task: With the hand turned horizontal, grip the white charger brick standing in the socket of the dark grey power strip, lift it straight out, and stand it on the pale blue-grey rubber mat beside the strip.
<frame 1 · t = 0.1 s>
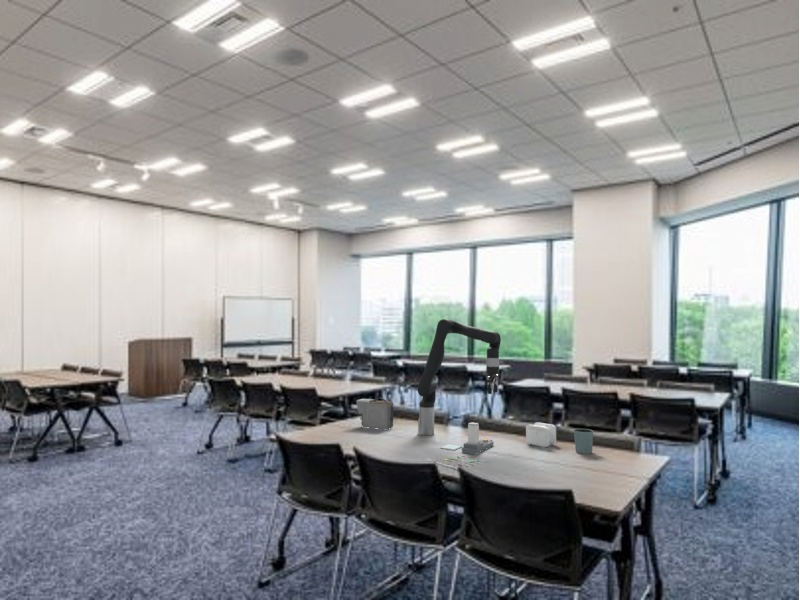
hand: (492, 393, 320), 29 cm above the table, tool pointing down, fingers open, 8 cm apart
mat: (450, 447, 307), on the table
cable organizer: (541, 445, 315), on the table
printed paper: (464, 462, 279), on the table
drinking glass: (583, 452, 298), on the table
grey boxy piece: (374, 428, 363), on the table
charger: (473, 446, 299), point 2 cm above the table, touching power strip
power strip: (478, 449, 304), on the table
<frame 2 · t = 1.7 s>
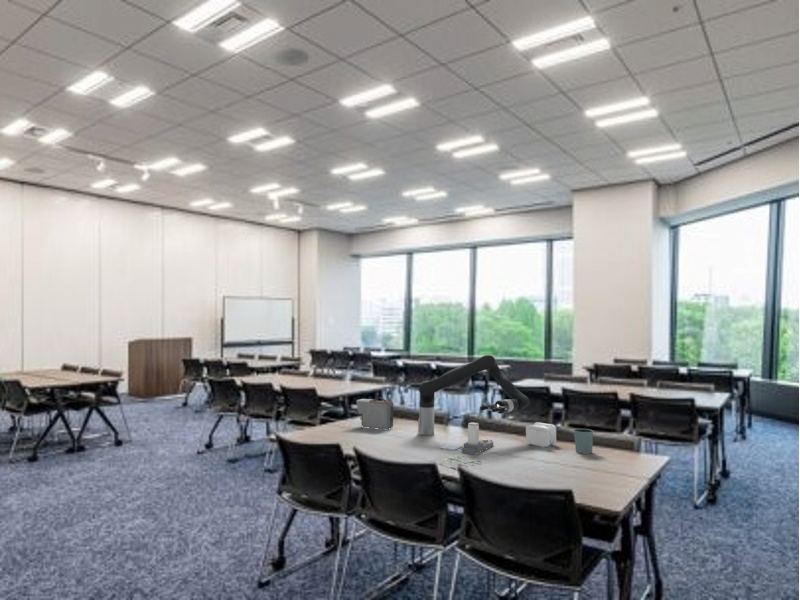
hand: (486, 409, 307), 22 cm above the table, tool horizontal, fingers open, 8 cm apart
nothing on the table moved.
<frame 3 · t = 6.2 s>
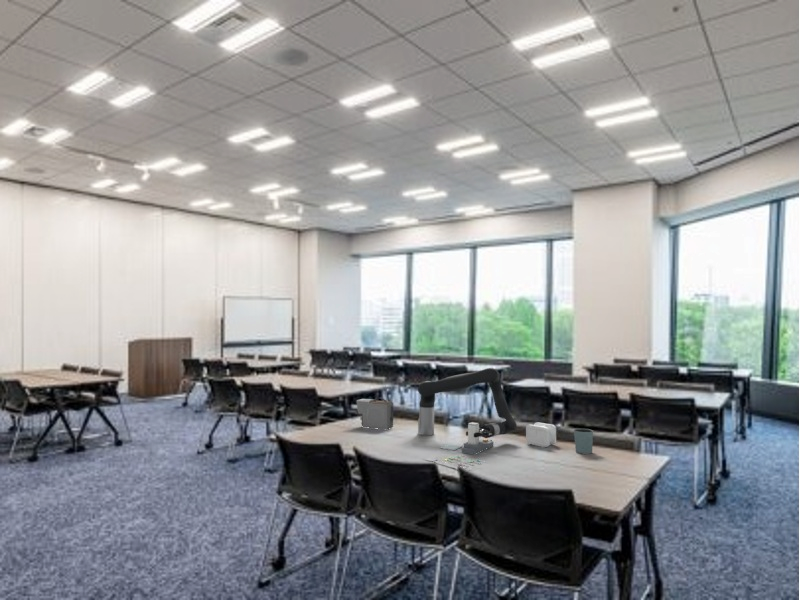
hand: (470, 434, 298), 10 cm above the table, tool horizontal, fingers closed on charger, 5 cm apart
charger: (473, 446, 299), point 3 cm above the table, touching gripper, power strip
everything else where it was.
when the fingers open (9 cm above the table, at t = 10.5 s): charger drops 1 cm, resting on mat.
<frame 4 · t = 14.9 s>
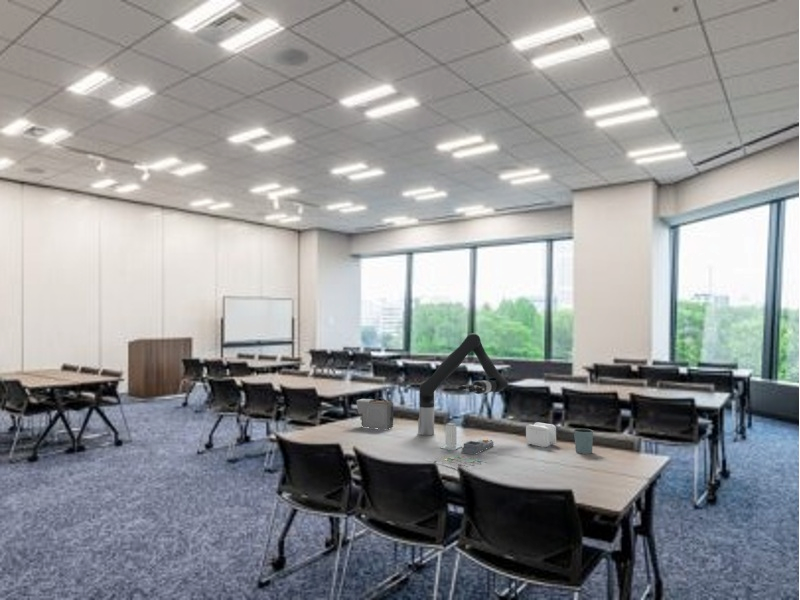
hand: (464, 389, 315), 32 cm above the table, tool horizontal, fingers open, 8 cm apart
charger: (451, 446, 307), point 1 cm above the table, touching mat
everything else where it was.
at the end: charger inside the target area on the mat (0.2 cm from its centre), point 0.6 cm above the mat's base; charger tilted 0°; the gripper is holding nothing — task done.
